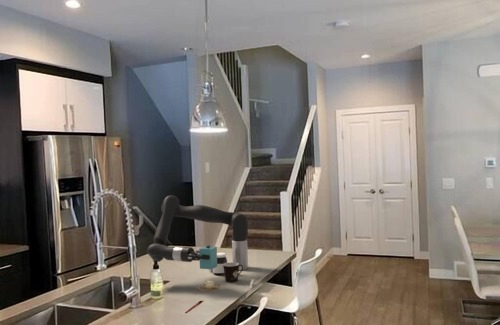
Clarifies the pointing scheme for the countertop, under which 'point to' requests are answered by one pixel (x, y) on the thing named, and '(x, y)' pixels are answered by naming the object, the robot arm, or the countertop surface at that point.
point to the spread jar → (219, 264)
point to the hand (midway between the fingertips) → (212, 255)
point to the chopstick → (194, 306)
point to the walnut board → (203, 288)
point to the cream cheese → (209, 284)
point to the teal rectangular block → (213, 257)
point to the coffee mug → (231, 271)
